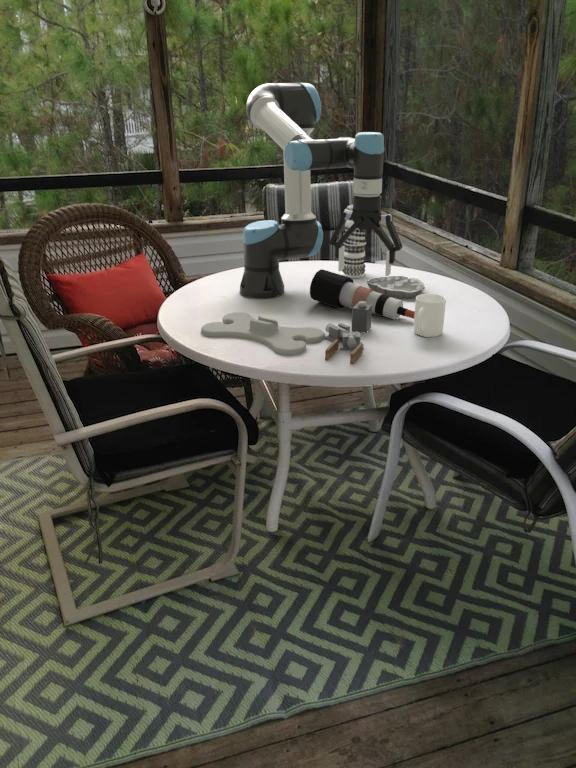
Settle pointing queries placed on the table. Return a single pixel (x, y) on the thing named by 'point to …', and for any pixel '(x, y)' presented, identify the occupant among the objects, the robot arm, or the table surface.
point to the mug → (429, 315)
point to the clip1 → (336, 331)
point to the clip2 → (349, 341)
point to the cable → (354, 295)
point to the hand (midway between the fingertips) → (364, 272)
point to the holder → (264, 332)
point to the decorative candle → (354, 250)
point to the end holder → (334, 348)
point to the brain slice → (397, 286)
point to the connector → (361, 317)
